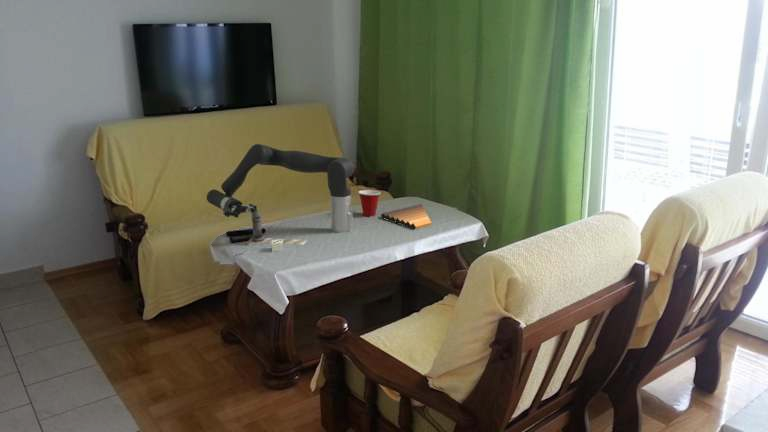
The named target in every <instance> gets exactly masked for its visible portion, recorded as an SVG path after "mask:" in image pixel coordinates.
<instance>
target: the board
mask: <svg viewBox="0 0 768 432" xmlns="http://www.w3.org/2000/svg"><path fill="white" fill-rule="evenodd" d="M282 239H283V245H284V244H285V245H302V246H303V245H305V244H306V243H307V242H308V240H307V239H293V238H271V237H268V238H267V237H264V240H263V241H260V242H259V243H261V244H272V240H282ZM251 243H255V242H254V241H252V237H251V238H249V239H248V240H247V241H246V242H245V245H246V246H249V244H251Z"/></svg>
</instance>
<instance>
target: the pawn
mask: <svg viewBox="0 0 768 432" xmlns="http://www.w3.org/2000/svg"><path fill="white" fill-rule="evenodd" d="M251 221H252V234H253V235H252V237H251V238H252V241H254V242H253V243H260V241H263V240H264V238H265V237H264V235H263V233H262V231H263V229H262V213H261V212H260V211H258V210H257V211H254V212H253V213H251ZM264 241H265V240H264ZM264 241H263V242H264Z"/></svg>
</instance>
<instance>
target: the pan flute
mask: <svg viewBox="0 0 768 432" xmlns="http://www.w3.org/2000/svg"><path fill="white" fill-rule="evenodd" d="M380 216H381V217H382V218H381V219H383V218H386V219H388V220H387V221H389V220H391V221H394V222H395V221H396V222H397V223H401V224H403V225H406V226H408V227H407V228H409V227H411V229H412V228H414V229H416V230H418V229H417V228H420V227H423V228H425V227H424V226H427V225H430V224H431V225H432V224H433V223H432V221H431V219H430V217H429V215H428V214H427V211H426V209H425V208H424V206H423V204H422V203H420V204H416V205H412V206H408V207H404V208H399V209H394V210H391V211H387V212H383V213H381V214H380ZM386 219H385V220H386ZM391 221H390V222H391ZM394 222H393V223H394ZM396 222H395V223H396ZM397 223H396V224H397ZM401 224H400V225H401ZM403 225H402V226H403ZM406 226H405V227H406ZM427 227H428V226H427ZM414 229H413V230H414ZM420 229H421V228H420Z"/></svg>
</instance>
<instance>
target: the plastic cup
mask: <svg viewBox="0 0 768 432" xmlns="http://www.w3.org/2000/svg"><path fill="white" fill-rule="evenodd" d="M358 194H359V198H360V204H361V209H362V213H363V214H362V215H363V216H364V217H366V216H372V217H375V216H376V212H377V208H378V203H379V202H378V201H379V198H380V195H381V191H379V190H372V189H371V190H370V189H367V190H359V191H358ZM374 215H375V216H374Z"/></svg>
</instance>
